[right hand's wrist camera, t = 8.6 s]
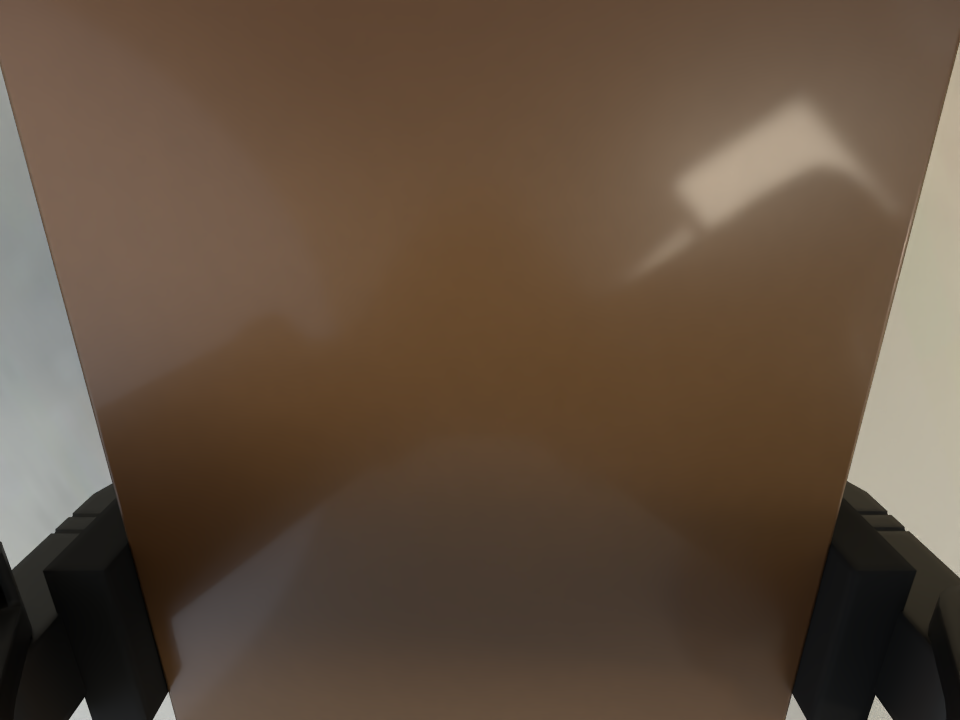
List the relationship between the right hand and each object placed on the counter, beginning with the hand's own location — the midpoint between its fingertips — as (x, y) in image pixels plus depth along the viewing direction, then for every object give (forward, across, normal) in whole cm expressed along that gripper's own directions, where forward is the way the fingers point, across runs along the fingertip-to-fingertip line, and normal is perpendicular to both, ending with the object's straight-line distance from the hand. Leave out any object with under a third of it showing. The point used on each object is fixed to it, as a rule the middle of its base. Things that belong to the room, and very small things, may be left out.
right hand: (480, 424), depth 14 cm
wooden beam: (+1, 0, -23) cm, 23 cm away
